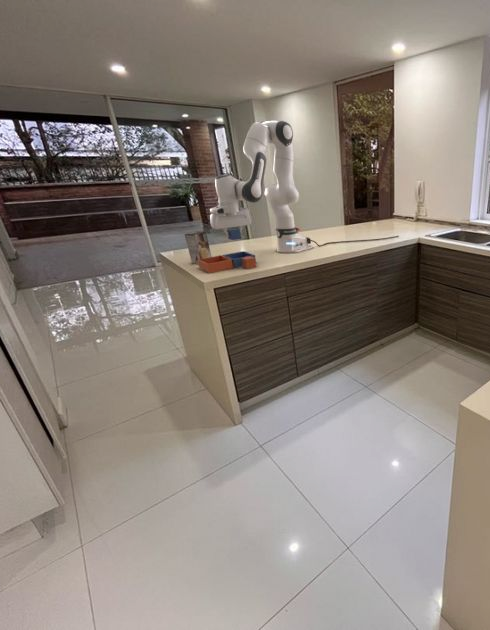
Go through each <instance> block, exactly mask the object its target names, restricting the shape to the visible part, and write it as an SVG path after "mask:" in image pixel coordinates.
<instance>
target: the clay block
mask: <svg viewBox="0 0 490 630" xmlns="http://www.w3.org/2000/svg"><path fill="white" fill-rule="evenodd" d="M255 258H256V257H255ZM255 258H254V257H251V256H249V257H244V258H242V264H243V266H242V267H243V268H245V269H246V270H248V269H254V268H257V261H256V262H255Z"/></svg>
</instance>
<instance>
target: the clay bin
mask: <svg viewBox="0 0 490 630" xmlns="http://www.w3.org/2000/svg"><path fill="white" fill-rule="evenodd" d="M198 268H199V269H200V270H202V271H204V272H207V273H208V274H211V273H218V272H221V271H226V270H227V271H228V270H232V269H234V267H233V264H232V260H231V259H229V258H226V257H224V256H222V255H216V256H211V257H209V258H203V259H198Z"/></svg>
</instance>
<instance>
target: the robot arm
mask: <svg viewBox="0 0 490 630" xmlns="http://www.w3.org/2000/svg"><path fill="white" fill-rule="evenodd" d="M293 138H294V131H293V128H292V125H291V124H290V123H289V122H287V121H284V120H267V121H255V122H253V123H252V124H251V126H250V128H249V129H248V131H247V134H246V137H245V139H244V143H243V148H242V151H243V154H244V155H245V157H246V158H247V159H248V160H249V161H251V163H252V168H251V172H250V177H249V179H248V180H246V181H244V180H240V179H237V178H235V177H234V176H232V175H231V174H227V173H226V174H225V173H224V174H219V175H217V176H216V177H215V179H214V183H215V185H214V186H215V191H216V195H217V197H218V205H216V206H213V207H212V208H210V209H209V212H210V215H209V220H210V221H209V222H210V226H211V228H212V229H213V230H222V231H223V232H224V233H225V236H226V238H228V237H229V236H230V233H228V232H227V229H231V228H237V227H238V229H240V233H241V236H242V235H243V229H244V227H245V226H251V225H252V218H251V215H250V209H249V208H248V207H246V206H244V207H243V206H242V207H239V205H238V203H239V202H238V201H242V202H249V203H253V204H255V203H258V202H259V201H260V200H261V199H262V197H263V182H264V178H265V174H266V173H265V172H266V167H267V155H266V154H267V150H268V147H269V144H273V146H274V155H273V170H272V171H273V172H272V173H273V175H274V176H275V178H276V182H277V184H276V183H275V184H270V185H268V186H267V187H266V188H265V189H264V197H265V199H266V200H267V201H268V202H269V204H270V207H271V209H272V212H273V215H274V221H275V233H276V239H277V240H276V241H277V244H276V245H277V246H276V252H278V253H294V254H296V253H300V252H304V251H307V250H312V249H313V246H312V245H311V244H312V243H314V244H315V245H316V246H318V247H323V246H326V245H329V244H340V243H341V244H342V243H352V242H353V243H356V242H371V241H381V240H388V239H395V238H398V237H400V235H394V236H387V237H382V238H374V239H373V238H371V239H358V240H357V239H356V240H341V241H330V242H325V243H323V244H318V242H317V241H315V240H312V239H311V238H310V237H309V236H306V237H305V236H304V235H302V234H301V233H299V232H301V230H302V228H301V227H296V225H295V224H296V223H295V217H294V213H293V212H292V210H291V208H290V207H289V206H291V205H295V204H297V203H298V202H299V200H300V193H299V190H298V189H297V188H296V184H295V180H294V179H295V178H294V163H295V152H294V151H295V150H294V144H293Z"/></svg>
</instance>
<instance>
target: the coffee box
mask: <svg viewBox="0 0 490 630" xmlns="http://www.w3.org/2000/svg"><path fill="white" fill-rule="evenodd" d="M184 237H185V242H186V245H187V250H188V254H189V258H190V261H191V263H192V264H196V265H197V264H198V259H203V258H209V257H212V253H211V249H210V244H209V240H208V235H207V232H206V231H202V230H201V231H199V230H198V231H197V230H196V231H192V232H188V233H184ZM198 265H199V264H198Z"/></svg>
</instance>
